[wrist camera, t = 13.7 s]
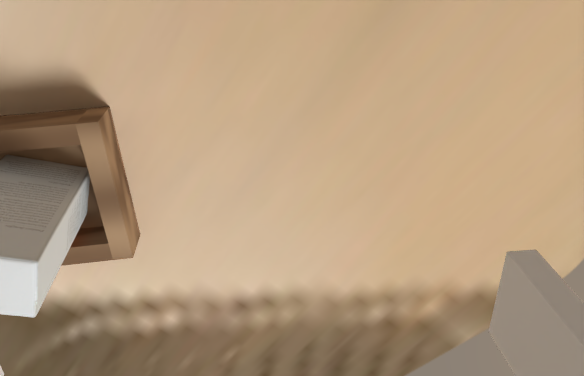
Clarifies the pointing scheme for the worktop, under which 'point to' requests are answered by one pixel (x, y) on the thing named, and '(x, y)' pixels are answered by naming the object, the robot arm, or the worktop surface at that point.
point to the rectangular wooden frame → (101, 166)
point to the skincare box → (36, 227)
